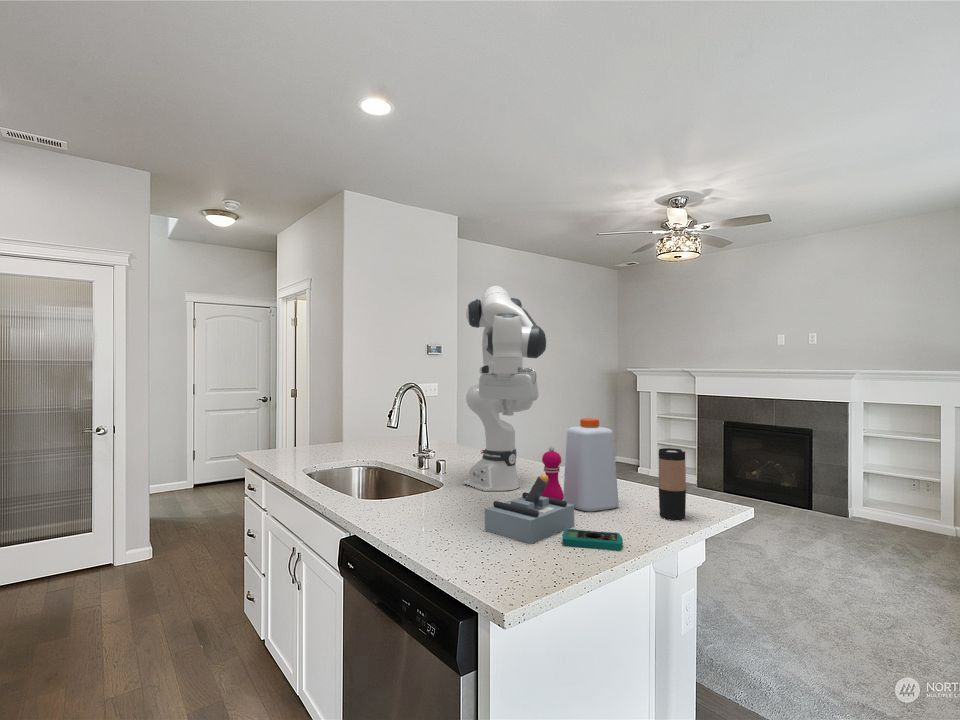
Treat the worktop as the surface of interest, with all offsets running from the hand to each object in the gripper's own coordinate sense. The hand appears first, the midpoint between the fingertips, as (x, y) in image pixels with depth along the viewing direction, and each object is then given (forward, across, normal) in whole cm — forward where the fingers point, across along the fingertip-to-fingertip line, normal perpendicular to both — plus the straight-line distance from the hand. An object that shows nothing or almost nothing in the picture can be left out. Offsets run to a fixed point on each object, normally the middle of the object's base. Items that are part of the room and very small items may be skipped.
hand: (507, 415), depth 146 cm
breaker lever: (+24, -8, 0) cm, 25 cm away
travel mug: (+31, -33, -37) cm, 59 cm away
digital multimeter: (+32, -27, -1) cm, 42 cm away
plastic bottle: (+31, -8, -32) cm, 45 cm away
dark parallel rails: (+25, -8, 0) cm, 26 cm away
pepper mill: (+31, -2, -19) cm, 37 cm away
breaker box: (+31, -8, 0) cm, 32 cm away
